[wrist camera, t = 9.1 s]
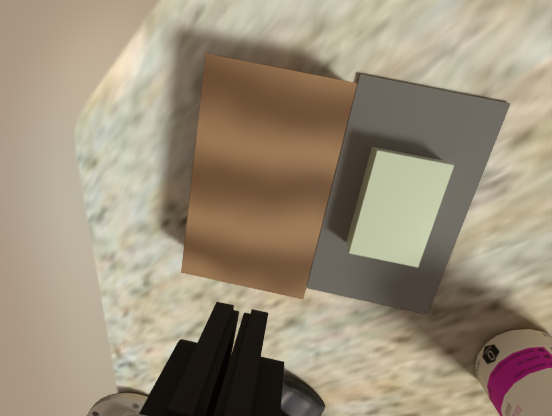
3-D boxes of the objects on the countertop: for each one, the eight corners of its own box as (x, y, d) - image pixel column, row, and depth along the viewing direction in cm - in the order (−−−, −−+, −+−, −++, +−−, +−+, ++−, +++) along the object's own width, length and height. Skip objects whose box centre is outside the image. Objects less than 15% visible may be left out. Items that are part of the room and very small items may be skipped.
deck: (303, 276, 33) (303, 299, 29) (195, 253, 33) (181, 272, 29) (350, 86, 27) (357, 83, 23) (220, 60, 28) (205, 53, 24)
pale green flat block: (349, 253, 29) (346, 242, 31) (418, 267, 28) (409, 255, 31) (377, 150, 26) (371, 146, 28) (454, 165, 26) (442, 160, 28)
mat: (426, 312, 33) (427, 314, 32) (306, 286, 33) (306, 287, 33) (508, 103, 26) (510, 103, 26) (359, 74, 27) (360, 74, 27)
